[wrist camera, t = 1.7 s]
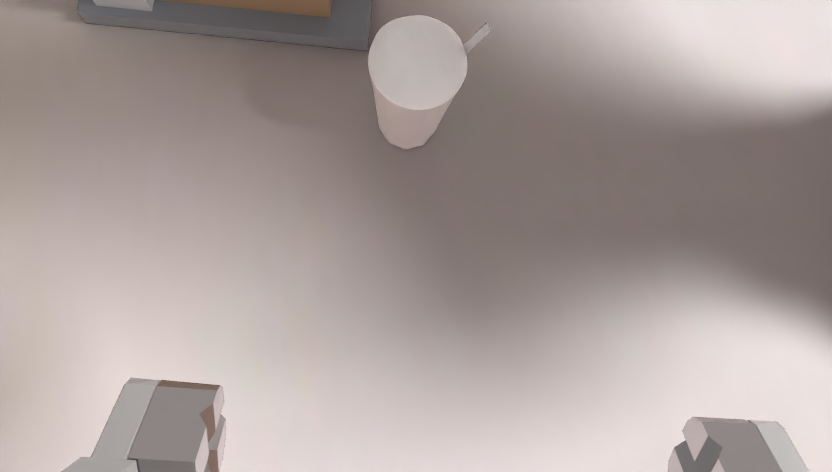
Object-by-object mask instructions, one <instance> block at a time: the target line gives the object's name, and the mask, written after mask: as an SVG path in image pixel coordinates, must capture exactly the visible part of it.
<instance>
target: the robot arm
mask: <svg viewBox="0 0 832 472" xmlns="http://www.w3.org/2000/svg"><path fill="white" fill-rule="evenodd" d="M223 403H224V393H223V387H222V386H220V385H210V384H199V383H189V382H178V381H167V380H151V379H140V378H130V379H129V380H128V381H127V383H126V384H125V385H124V386H123V388H122V391H121V393H120V395H119V397H118V399H117V401H116V404H115V406H114V408H113V410H112V412H111V414H110V416H109V419H108V421H107V423H106V425H105V427H104V429H103V432H102V434H101V436H100V438H99V440H98V442H97V445H96V447H95V449H94V451H93V453H92V455H91V457H80V458H79V459H78V460H76V461H75V462H74V463H72V464H71V465H70V466H68V467H67V468H65V469H64V470H63V471H61V472H220V468H221V464H222V460H223V454H224V448H225V440H226V419H225V418H224V417H223V416H222V415H221V411H222V407H223ZM682 432H683V434H684V437H685V439H686V440H685V441H684V442H682V443H681V444H679V445H677V446H676V447H674V449H673V451H672V454H671V456H670V459H669V463H668V472H809V470H808V468H807V467H806V465H805V463H804V462H803V460H802V458H801V456H800V455H799V453H798V451H797V450H796V448H795V446H794V444H793V443H792V441H791V439H790V437H789V436H788V434H787V432H786V431H785V429H784V428H783V426H781V425H780V424H779V423H778V422H771V421H755V420H742V419H725V418H707V417H692V418H691V419H689V420H688V421H687V422H686V424H685V426H684V428H683V430H682Z"/></svg>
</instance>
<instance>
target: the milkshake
mask: <svg viewBox="0 0 832 472" xmlns="http://www.w3.org/2000/svg"><path fill="white" fill-rule="evenodd" d="M489 32H490V27H489V24H488V22H487V23H485V24H484V25H483V26H482V27H481V28H480V29H479V30H478V31H477V32H476V33H475V34H474V35H473V36H472V37H471V38H470V39H469V40H468V41H467V42H466V43H465V44H464V45H463V44H462V42H461V40H460V38H459V37H458V35H457V34H456V32H455V31H454V30H453V29H452V28H451V27H449V26H448V25H447V24H445V23H443V22H441V21H439V20H437V19H435V18H432V17H429V16H424V15H413V16H406V17H400V18H397V19H394V20H392V21H390V22H388V23H387V24H385V25H384V26H383V27H382V28H381V29H380V30H379V31H378V32H377V34H376V36H375V38H374V40H373V42H372V45H371V47H370V50H369V55H368V67H369V72H370V77H371V81H372V86H373V91H374V96H375V103H376V110H377V117H378V124H379V129H380V130H381V132H382V133H383V135H384V136H385V138H386V139H387V141H388V142H389V143H390V144H393V145H395V146H398V147H400V148H403V149H410V148H414V147H418V146H423V145H424V144H425V142H426V141H427V140H428V139H429V138H430V137H431V135H432V134H433V133H434V132H435V130H436V128H437V126H438V124H439V123H440V121H441V119H442V117H443V115H444V113H445V111H446V110H447V108H448V106H449V104H450V103H451V101H452V100H453V98H454V97H455V95H456V93H457V92H458V90H459V89H460V87H461V86H462V84H463V82H464V80H465V77H466V74H467V56H466V55H467V54H468V53H469V52H470V51H471V50H472V49H473V48H474V47H475V46H476V45H477V44H478V43H479V42H480V41H481V40H482V39H483V38H484V37H485V36H486V35H487V34H488V33H489Z"/></svg>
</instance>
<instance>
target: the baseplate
mask: <svg viewBox="0 0 832 472" xmlns="http://www.w3.org/2000/svg"><path fill="white" fill-rule="evenodd" d="M371 5H372V0H79V2H78V8H77V13H78V14H79V16H80V17H81V18H82V19H83V21H84V22H85V23H91V24H101V25H112V26H122V27H132V28H142V29H152V30H162V31H172V32H182V33H192V34H202V35H212V36H222V37H233V38H243V39H253V40H263V41H273V42H283V43H293V44H303V45H313V46H323V47H333V48H343V49H353V50H364V51H367V50H368V39H369V28H370V17H371Z"/></svg>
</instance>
